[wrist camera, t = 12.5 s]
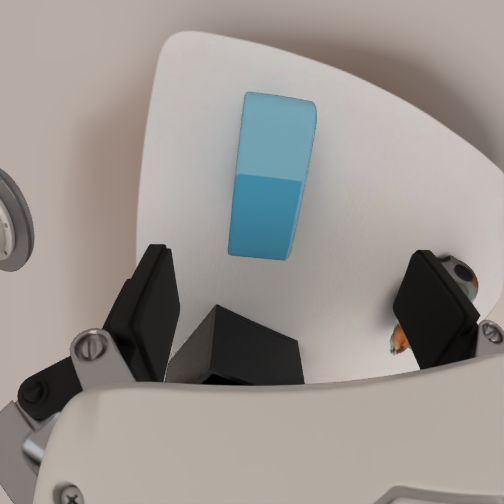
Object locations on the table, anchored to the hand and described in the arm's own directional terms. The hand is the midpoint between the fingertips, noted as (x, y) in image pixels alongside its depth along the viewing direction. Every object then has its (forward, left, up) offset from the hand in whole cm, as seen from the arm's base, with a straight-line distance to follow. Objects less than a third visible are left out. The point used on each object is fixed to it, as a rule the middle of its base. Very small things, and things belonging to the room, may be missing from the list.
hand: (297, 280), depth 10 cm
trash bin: (-4, -32, -21) cm, 38 cm away
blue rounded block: (0, 0, -21) cm, 21 cm away
